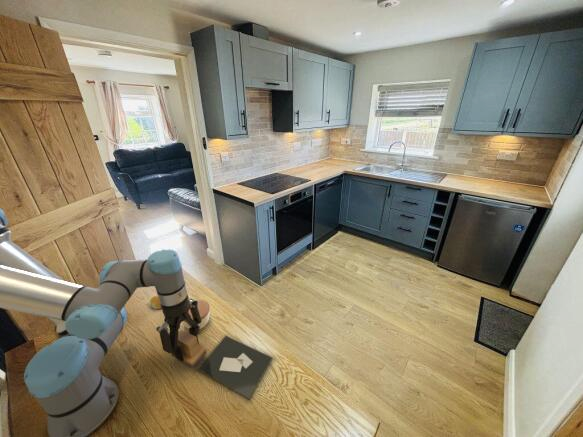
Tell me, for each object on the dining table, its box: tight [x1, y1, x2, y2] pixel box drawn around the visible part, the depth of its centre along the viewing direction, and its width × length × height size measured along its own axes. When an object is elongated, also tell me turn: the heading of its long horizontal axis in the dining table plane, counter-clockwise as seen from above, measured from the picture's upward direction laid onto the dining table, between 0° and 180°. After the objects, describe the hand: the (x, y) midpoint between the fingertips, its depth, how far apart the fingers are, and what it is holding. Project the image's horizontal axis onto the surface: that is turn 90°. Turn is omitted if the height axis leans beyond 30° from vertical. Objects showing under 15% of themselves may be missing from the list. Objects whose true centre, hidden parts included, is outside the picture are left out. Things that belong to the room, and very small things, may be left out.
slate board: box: [197, 335, 273, 400], centre depth 79 cm, size 20×14×1 cm
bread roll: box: [149, 294, 162, 310], centre depth 104 cm, size 8×9×4 cm
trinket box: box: [181, 299, 211, 331], centre depth 93 cm, size 11×11×9 cm
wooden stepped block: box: [170, 328, 208, 369], centre depth 79 cm, size 10×6×8 cm, turn 65°
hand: (187, 350), depth 80 cm, fingers closed on wooden stepped block, 6 cm apart
